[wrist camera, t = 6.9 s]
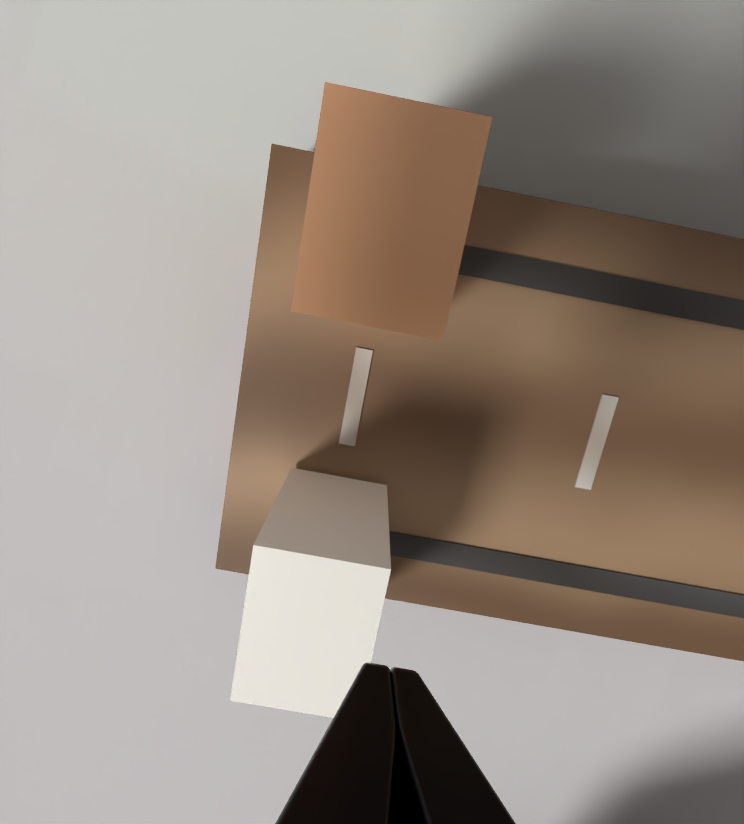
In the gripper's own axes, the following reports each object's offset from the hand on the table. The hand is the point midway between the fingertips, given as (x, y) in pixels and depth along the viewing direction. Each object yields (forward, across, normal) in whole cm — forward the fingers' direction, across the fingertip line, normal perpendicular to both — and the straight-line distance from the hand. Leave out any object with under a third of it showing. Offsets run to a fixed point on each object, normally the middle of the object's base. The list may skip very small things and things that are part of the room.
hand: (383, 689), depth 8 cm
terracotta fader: (+8, +1, -7) cm, 11 cm away
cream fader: (+8, +1, +2) cm, 9 cm away
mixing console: (+11, -6, -3) cm, 13 cm away
